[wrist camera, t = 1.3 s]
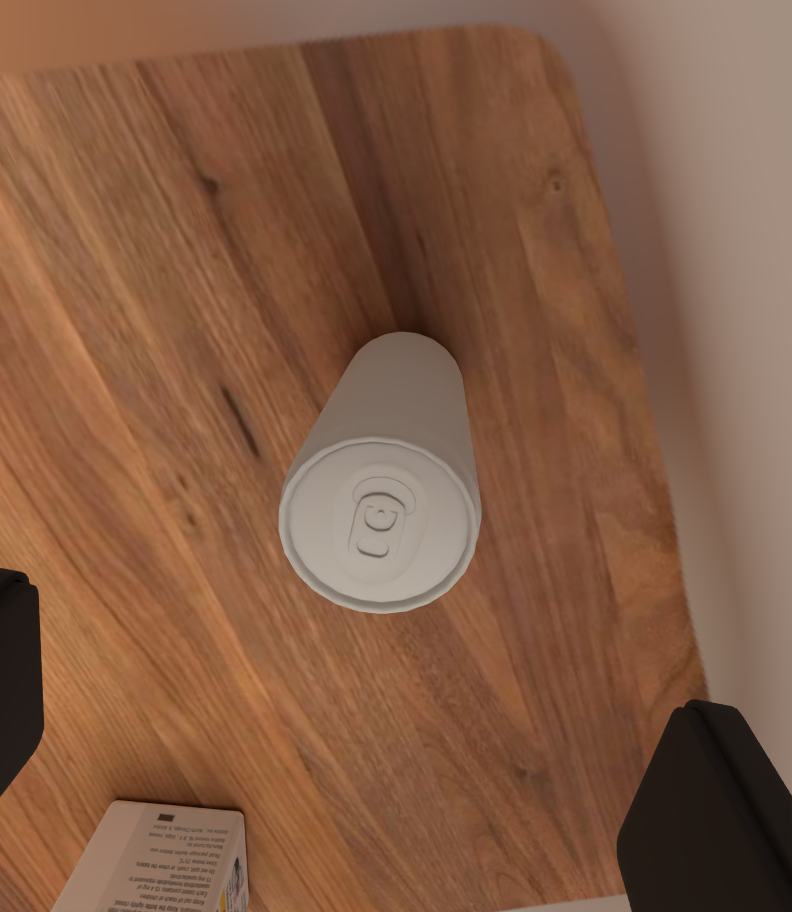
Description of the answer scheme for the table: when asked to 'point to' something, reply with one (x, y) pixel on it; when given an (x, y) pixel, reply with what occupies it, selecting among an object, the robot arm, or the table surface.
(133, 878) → the container
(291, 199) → the table surface
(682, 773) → the robot arm
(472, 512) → the beverage can
